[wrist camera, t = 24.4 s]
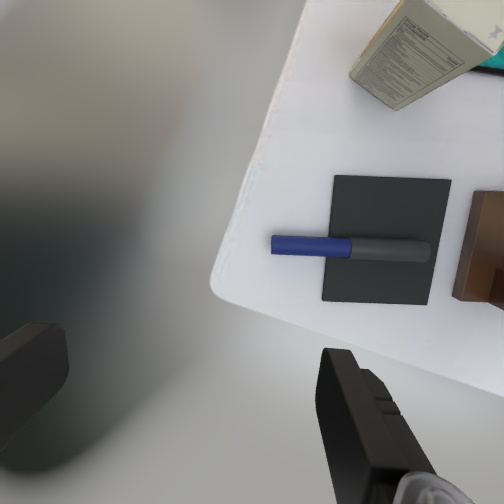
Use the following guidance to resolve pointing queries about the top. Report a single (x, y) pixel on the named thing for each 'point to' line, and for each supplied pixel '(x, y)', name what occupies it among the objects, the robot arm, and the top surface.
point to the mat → (384, 226)
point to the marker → (353, 248)
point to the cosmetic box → (428, 47)
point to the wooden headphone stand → (483, 252)
